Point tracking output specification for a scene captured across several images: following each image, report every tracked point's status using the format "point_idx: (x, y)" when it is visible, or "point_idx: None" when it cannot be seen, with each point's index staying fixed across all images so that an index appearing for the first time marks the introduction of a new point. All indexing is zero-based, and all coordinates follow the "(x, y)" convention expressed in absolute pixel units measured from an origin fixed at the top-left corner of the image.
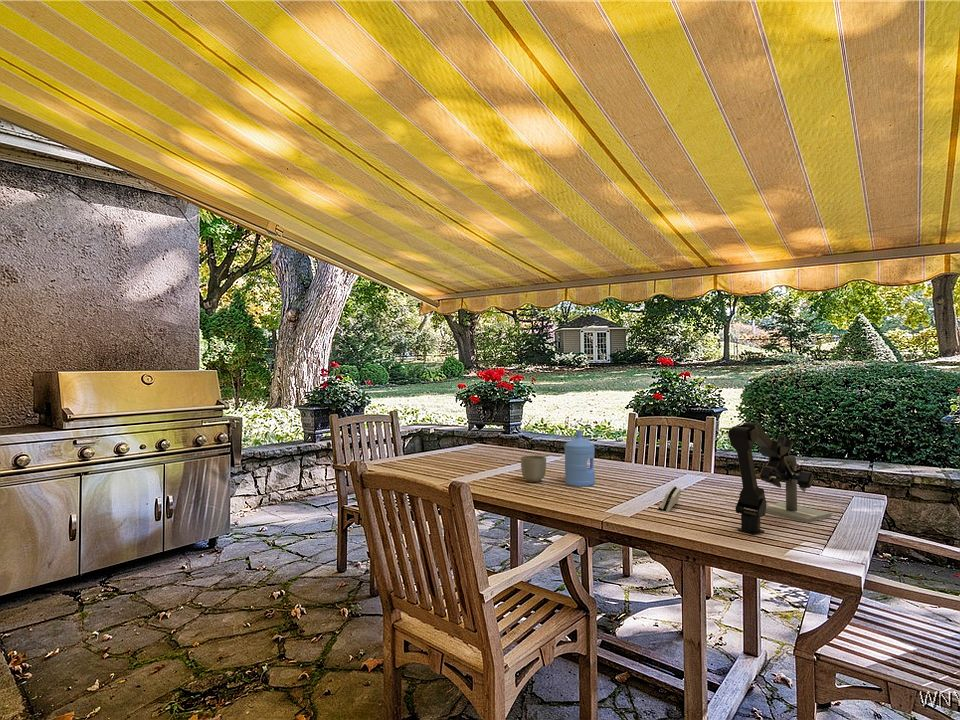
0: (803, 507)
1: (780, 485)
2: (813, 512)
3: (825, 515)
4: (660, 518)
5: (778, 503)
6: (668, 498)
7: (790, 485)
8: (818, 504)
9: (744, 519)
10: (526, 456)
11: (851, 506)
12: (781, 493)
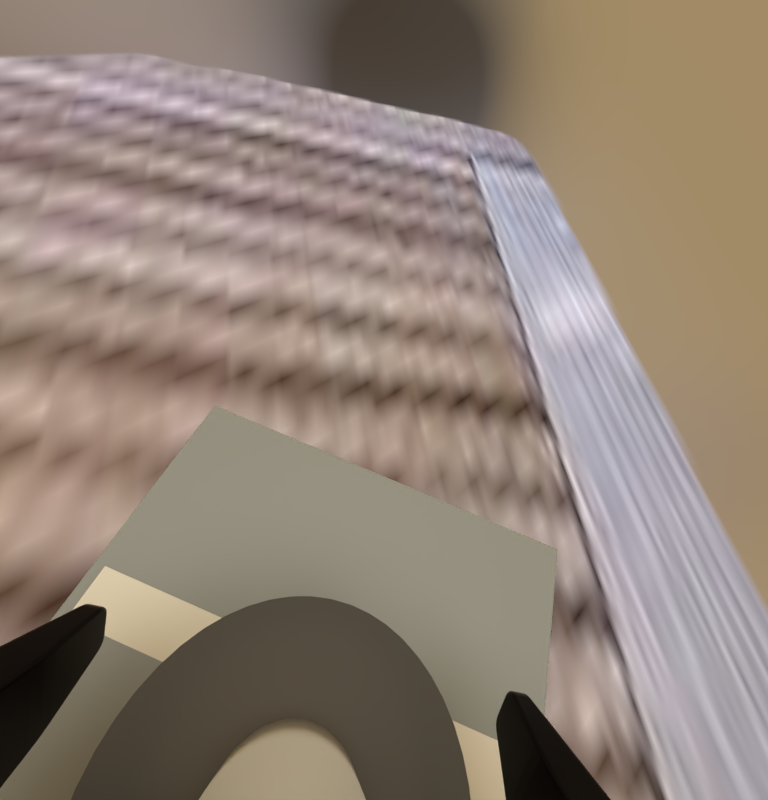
0: (370, 490)
1: (71, 655)
2: (467, 624)
3: (546, 630)
4: None
5: (182, 468)
6: None
7: None
8: (403, 302)
9: None
10: None
11: (520, 280)
12: (217, 183)
